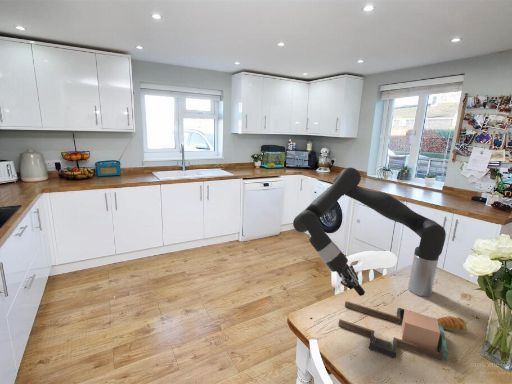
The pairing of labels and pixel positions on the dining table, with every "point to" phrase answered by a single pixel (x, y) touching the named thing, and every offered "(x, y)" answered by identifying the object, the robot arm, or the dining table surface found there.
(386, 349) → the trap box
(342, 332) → the dining table surface
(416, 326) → the block
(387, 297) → the dining table surface
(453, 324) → the pastry
